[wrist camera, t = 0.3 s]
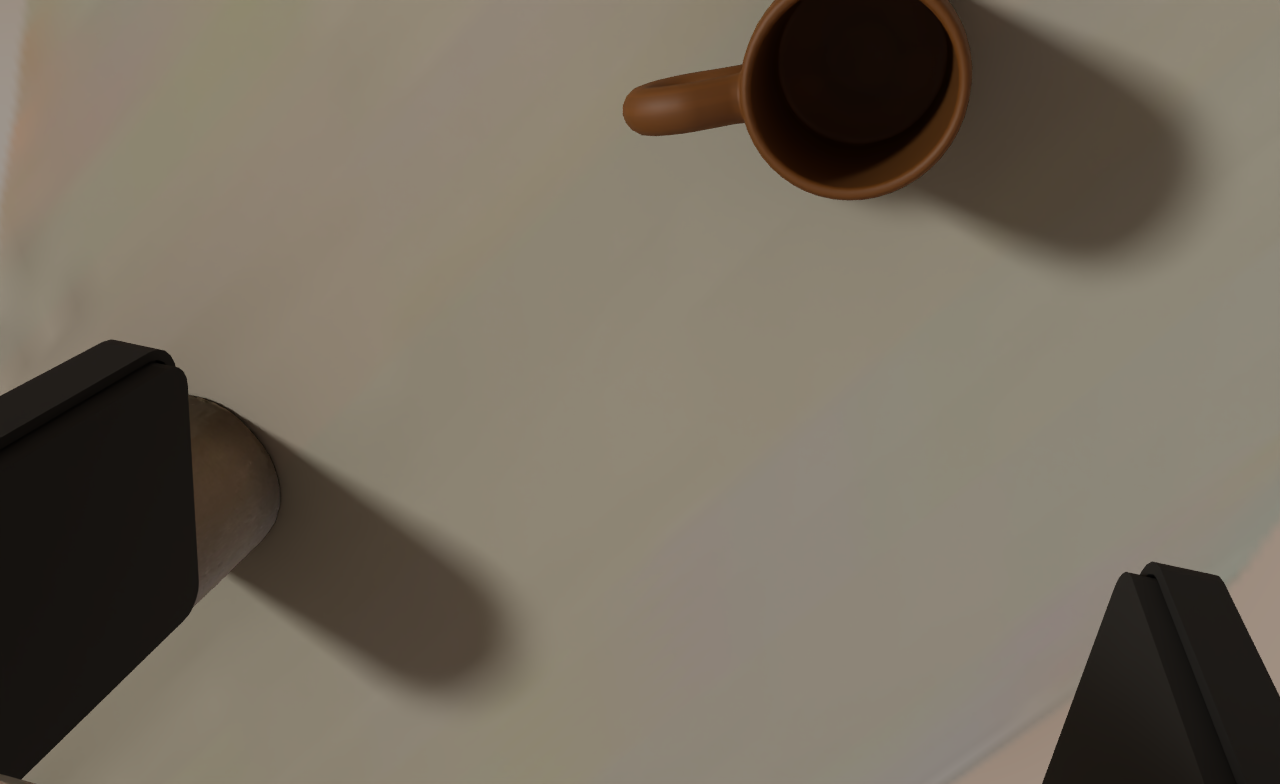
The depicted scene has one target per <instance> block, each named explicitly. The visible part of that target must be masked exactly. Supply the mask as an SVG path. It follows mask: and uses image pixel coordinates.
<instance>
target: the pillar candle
mask: <svg viewBox="0 0 1280 784" xmlns="http://www.w3.org/2000/svg"><path fill="white" fill-rule="evenodd" d="M188 399H189V416H190V434H191V451H192V469H193V487H194V504H195V522H196V539H197V557H198V574H199V590H198V594H197V598H196V601H195V604H194V606H195V605H196V604H197V603H198V602H199V601H200V600H201V599H202V598H203V597H204V596H205V595H206V594H207V593H208V592H209V591H210V590H211V589H213V588H214V587H215V586H216V585H217V584H218V583H219V582H220V581H221V580H222V579H223V578H224V577H225V576H226V575H227V574H228V573H229V572H230V571H231V570H232V569H233V568H234V567H235V566H236V565H237V564H238V563H239V562H240V561H241V560H242V559H243V558H244V557H246V556H247V554H248V553H249V552H250V551H251V550H252V549H253V548H255V547H256V546H257V545H258V544H259V543H260V542H261V541H262V540H263V539H264V537H265V536H266V535H267V533H268V532H269V530H270V529H271V528H272V526H273V524H274V523H275V521H276V518H277V513H278V509H279V506H280V489H279V482H278V477H277V475H276V473H275V469H274V466H273V463H272V461H271V458H270V457H269V455H268V453H267V452H266V451H265V448H264V447H263V446H262V444H261V443H260V442H259V440H258V439H257V438H256V437H255V436H254V435H253V433H252V432H251V431H250V430H249V429H248V428H247V427H246V426H245V425H244V424H243V423H242V422H241V421H240V420H239V418H237V417H236V416H235V415H234V414H232V413H231V412H230V411H228V410H227V409H225V408H223V407H220V406H219V405H218V404H216V403H214V402H211V401H208V400H206V399H203V398H201V397H197V398H196V397H194V396H190V395H188ZM194 606H193V607H194Z"/></svg>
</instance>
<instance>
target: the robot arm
mask: <svg viewBox="0 0 1280 784" xmlns="http://www.w3.org/2000/svg"><path fill="white" fill-rule="evenodd" d="M198 590H199V574H198V557H197V539H196V522H195V504H194V487H193V469H192V451H191V434H190V416H189V399H188V384H187V378H186V376H185V374H184V372H183V371H182V370H181V369H180V368H178V367H175V363H174V361H173V359H172V357H171V355H169V354H168V353H167V352H166V351H164V350H159V349H154V348H150V347H145V346H140V345H136V344H131V343H126V342H122V341H117V340H108V341H104V342H102V343H100V344H98V345H96V346H94V347H92V348H90V349H88V350H87V351H85V352H83V353H81V354H79V355H77V356H75V357H73V358H71V359H69V360H68V361H66V362H64V363H62V364H60V365H58V366H56V367H54V368H52V369H51V370H49V371H47V372H45V373H43V374H41V375H39V376H37V377H35V378H33V379H32V380H30V381H28V382H26V383H24V384H22V385H20V386H18V387H16V388H15V389H13V390H11V391H9V392H7V393H5V394H3V395H1V396H0V784H35V783H31V782H27V781H24V780H21V779H22V778H23V777H24V776H25V775H26V774H27V773H28V772H29V771H30V770H31V769H32V768H33V767H34V766H35V765H36V764H37V763H38V762H39V761H40V760H41V759H42V758H43V757H45V756H46V755H47V754H48V753H49V752H50V751H51V750H52V749H53V748H54V747H55V746H56V745H57V744H58V743H59V742H60V741H61V740H62V739H63V738H64V737H65V736H66V735H67V734H68V733H69V732H70V731H71V730H72V729H73V728H74V727H75V726H76V725H77V724H78V723H79V722H80V721H81V720H82V719H83V718H84V717H85V716H87V715H88V714H89V713H90V712H91V711H92V710H93V709H94V708H95V707H96V706H97V705H98V704H99V703H100V702H101V701H102V700H103V699H104V698H105V697H106V696H107V695H108V694H109V693H110V692H111V691H112V690H113V689H114V688H115V687H116V686H117V685H118V684H119V683H120V682H121V681H122V680H123V679H124V678H125V677H126V676H127V675H128V674H130V673H131V672H132V671H133V670H134V669H135V668H136V667H137V666H138V665H139V664H140V663H141V662H142V661H143V660H144V659H145V658H146V657H147V656H148V655H149V654H150V653H151V652H152V651H153V650H154V649H155V648H156V647H157V646H158V645H159V644H160V643H161V642H162V641H163V640H164V639H165V638H166V637H167V636H168V635H169V634H170V633H172V632H173V631H174V630H175V629H176V628H177V627H178V626H179V625H180V624H181V623H182V622H183V621H184V620H185V618H186V617H187V616H188V615H189V613H190V612H191V610H192V608H193V606H194V604H195V601H196V598H197V594H198ZM1042 784H1280V696H1279V694H1278V692H1277V690H1276V688H1275V686H1274V684H1273V682H1272V680H1271V678H1270V676H1269V674H1268V672H1267V670H1266V668H1265V666H1264V664H1263V662H1262V659H1261V657H1260V655H1259V653H1258V651H1257V649H1256V647H1255V645H1254V643H1253V641H1252V639H1251V637H1250V635H1249V633H1248V631H1247V629H1246V627H1245V625H1244V623H1243V621H1242V619H1241V616H1240V614H1239V613H1238V610H1237V609H1236V607H1235V604H1234V602H1233V600H1232V598H1231V596H1230V594H1229V592H1228V590H1227V588H1226V586H1225V584H1224V582H1223V581H1222V579H1221V578H1220V577H1219V576H1216V575H1212V574H1208V573H1203V572H1198V571H1194V570H1189V569H1184V568H1180V567H1175V566H1170V565H1166V564H1161V563H1156V562H1150V563H1149V564H1147V565H1146V566H1145V568H1144V569H1143V570H1142V572H1141V574H1140V575H1138V574H1133V573H1128V572H1125V573H1123V574H1122V575H1121V576H1120V578H1119V579H1118V581H1117V583H1116V585H1115V588H1114V590H1113V593H1112V596H1111V598H1110V601H1109V604H1108V607H1107V609H1106V612H1105V615H1104V617H1103V620H1102V623H1101V626H1100V628H1099V631H1098V634H1097V636H1096V639H1095V642H1094V645H1093V647H1092V650H1091V653H1090V655H1089V658H1088V661H1087V664H1086V666H1085V669H1084V672H1083V674H1082V677H1081V680H1080V683H1079V685H1078V688H1077V691H1076V693H1075V696H1074V699H1073V702H1072V704H1071V707H1070V710H1069V712H1068V715H1067V718H1066V721H1065V723H1064V726H1063V729H1062V731H1061V734H1060V737H1059V740H1058V743H1057V745H1056V748H1055V750H1054V753H1053V756H1052V759H1051V761H1050V764H1049V767H1048V769H1047V772H1046V775H1045V778H1044V780H1043V783H1042Z"/></svg>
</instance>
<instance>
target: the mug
mask: <svg viewBox="0 0 1280 784" xmlns="http://www.w3.org/2000/svg"><path fill="white" fill-rule="evenodd" d="M971 84H972V60H971V52H970V47H969V43H968V39H967V36H966V32H965V30H964V28H963V25H962V23H961V20H960V18H959V17H958V15H957V13H956V12H955V10H954V8H953V6H952V5H951V4H950V2H949V1H948V0H775V1H774V2H773V3H772V4H771V5H770V7H769V8H768V9H767V10H766V12H765V13H764V15H763V16H762V18H761V19H760V21H759V23H758V24H757V26H756V28H755V30H754V33H753V35H752V37H751V39H750V42H749V44H748V47H747V50H746V53H745V56H744V60H743V64H742V65H737V66H731V67H726V68H720V69H713V70H707V71H701V72H695V73H689V74H684V75H679V76H674V77H669V78H665V79H661V80H657V81H653V82H650V83H647V84H644V85H642V86H639V87H637V88H635V89H633V90H632V91H631V92H630V93H629V94H628V95H627V97H626V99H625V102H624V104H623V116H624V119H625V121H626V123H627V125H628V126H629V127H630V128H631V129H632V130H633V131H635V132H637V133H639V134H641V135H647V136H664V135H674V134H683V133H689V132H695V131H701V130H706V129H711V128H717V127H722V126H727V125H732V124H739V123H745V124H746V127H747V130H748V133H749V135H750V137H751V139H752V141H753V143H754V145H755V147H756V148H757V150H758V151H759V153H760V154H761V156H762V157H763V159H764V160H765V161H766V162H767V163H768V164H769V166H770V167H771V168H772V169H773V170H774V171H776V172H777V173H778V174H779V175H780V176H781V177H782V178H784V179H785V180H787V181H788V182H790V183H791V184H793V185H794V186H796V187H798V188H800V189H802V190H804V191H806V192H809V193H812V194H815V195H818V196H821V197H826V198H830V199H837V200H864V199H869V198H875V197H879V196H882V195H885V194H889V193H892V192H894V191H896V190H898V189H901V188H903V187H905V186H907V185H908V184H910V183H912V182H913V181H915V180H916V179H918V178H919V177H921V176H922V175H923V174H924V173H926V172H927V171H928V170H929V169H930V168H931V167H932V166H933V165H934V164H935V163H936V162H937V161H938V160H939V159H940V158H941V157H942V156H943V154H944V153H945V152H946V150H947V149H948V148H949V147H950V145H951V143H952V142H953V140H954V138H955V137H956V135H957V133H958V131H959V129H960V126H961V124H962V122H963V119H964V117H965V113H966V109H967V106H968V102H969V97H970V90H971Z"/></svg>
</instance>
